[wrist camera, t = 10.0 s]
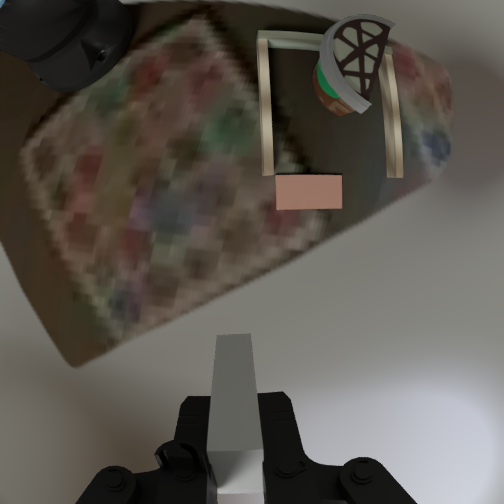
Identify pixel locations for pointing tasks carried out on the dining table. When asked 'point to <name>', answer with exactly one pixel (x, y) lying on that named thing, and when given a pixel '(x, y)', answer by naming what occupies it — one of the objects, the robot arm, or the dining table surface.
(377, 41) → the food container
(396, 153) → the beige u-shaped frame
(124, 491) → the robot arm
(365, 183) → the dining table surface
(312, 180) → the mat
